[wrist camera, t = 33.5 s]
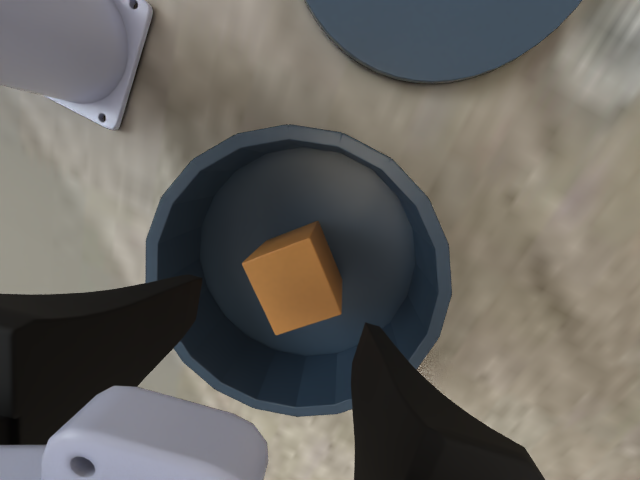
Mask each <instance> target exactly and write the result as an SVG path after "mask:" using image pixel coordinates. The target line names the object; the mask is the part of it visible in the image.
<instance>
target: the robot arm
mask: <svg viewBox="0 0 640 480" xmlns="http://www.w3.org/2000/svg"><path fill="white" fill-rule="evenodd" d="M135 3H138V7H137V8H136V9H134V5H135ZM152 16H153V9H152V7H151V5H150V4H149V3H148V2H146V1H145V0H0V85H2V86H6V87H10V88H15V89H19V90H23V91H27V92H31V93H35V94H40V95H43V96H45V97H47V98H49V99H51V100H52V101H54V102H56V103H58V104H60V105H62V106H64V107H66V108H68V109H70V110H72V111H74V112H76V113H78V114H80V115H82V116H84V117H86V118H88V119H90V120H91V121H93V122H95V123H97V124H99V125H101V126H103V127H105V128H107V129H110V130H117V129H118V128H119V127H120V124H121V121H122V118H123V114H124V111H125V107H126V104H127V101H128V97H129V94H130V90H131V87H132V84H133V80H134V77H135V73H136V70H137V67H138V63H139V60H140V56H141V53H142V50H143V46H144V43H145V40H146V36H147V33H148V29H149V26H150V23H151V19H152ZM104 115H105V117H106V120H105V122H104V120H103V116H104ZM202 279H203V278H201V277H197V276H193V275H190V274H188V275H180V276H175V277H171V278H166V279H162V280H158V281H153V282H149V283H144V284H139V285H134V286H129V287H124V288H118V289H112V290H105V291H96V292H86V293H70V294H51V295H21V294H0V480H264V476H265V472H266V468H267V464H268V449H267V442H266V440H265V439H264V438H263V436H262V435H261V434H260V432H259V431H258V429H257V428H256V427H255V425H254V424H252V423H251V422H249V421H247V420H245V419H243V418H241V417H239V416H237V415H235V414H233V413H229V412H226V411H222V410H219V409H215V408H211V407H208V406H204V405H201V404H197V403H194V402H190V401H187V400H183V399H179V398H176V397H172V396H169V395H165V394H162V393H158V392H154V391H151V390H147V389H144V388H140V387H137V386H138V385H139V384H140V383H141V382H142V380H143V379H144V378H145V377H146V376H147V375H148V374H149V373H150V372H151V371H152V370H153V369H154V368H155V367H156V366H157V365H158V364H159V363H160V362H161V361H162V359H163V358H164V357H165V356H166V355H167V354H168V353H169V352H170V351H171V350H172V349H173V348H174V347H175V346H176V345H177V344H178V343H179V342H180V341H181V339H182V338H183V337H184V336H185V334H186V333H187V332H188V330H189V329H190V328H191V326H192V325H193V323H194V322H195V320H196V316H197V310H198V304H199V298H200V292H201V286H202ZM351 396H352V409H353V422H354V435H355V471H354V480H545V479H544V477H543V476H542V474H541V472H540V471H539V469H538V468H537V466H536V465H535V463H534V461H533V460H532V458H531V457H530V455H529V454H528V452H527V451H526V449H525V448H524V447H523V446H521V445H519V444H517V443H516V442H514V441H512V440H510V439H509V438H507V437H505V436H503V435H502V434H500V433H498V432H496V431H495V430H493V429H491V428H490V427H488V426H486V425H485V424H483V423H482V422H480V421H479V420H477V419H476V418H474V417H473V416H471V415H470V414H468V413H467V412H466V411H464V410H463V409H461V408H460V407H459V406H457V405H456V404H455V403H453V402H452V401H451V400H450V399H448V398H447V397H446V396H444V395H443V394H442V393H441V392H440V391H438V390H437V389H436V388H435V387H434V386H433V385H432V384H431V383H430V382H428V381H427V380H426V379H425V378H424V377H423V376H422V375H421V374H420V373H419V372H418V371H417V370H416V369H415V368H414V367H413V366H412V365H411V363H410V362H409V361H408V360H407V359H406V358H405V357H404V356H403V354H402V353H401V352H400V351H399V350H398V348H397V347H396V346H395V345H394V343H393V342H392V341H391V340H390V338H389V337H388V336H387V335H386V333H385V332H384V331H383V330H382V329H381V327H380V326H377V325H373V324H369V323H366V322H365V325H364V328H363V331H362V334H361V337H360V340H359V343H358V346H357V349H356V352H355V355H354V358H353V361H352V370H351Z"/></svg>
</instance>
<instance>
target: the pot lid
mask: <svg viewBox="0 0 640 480" xmlns="http://www.w3.org/2000/svg"><path fill="white" fill-rule="evenodd" d="M581 1H582V0H305V3H306V4H307V6H308V8H309V9H310V11H311V13H312V14H313V16H314V18H315V20H316V21H317V22H318V24H319V25H320V26H321V28H322V29H323V30H324V31H325V33H326V34H327V35H328V37H329V38H330V39H331V40H332V41H333V42H334V43H335V44H336V45H337V46H338V47H339V48H340V49H341V50H342V51H344V52H345V53H346V54H348V55H349V56H350V57H352V58H353V59H354V60H356V61H357V62H358V63H360V64H362V65H364V66H366V67H367V68H369V69H371V70H373V71H375V72H377V73H380V74H383V75H385V76H388V77H391V78H394V79H398V80H403V81H408V82H413V83H430V84H435V83H447V82H455V81H460V80H464V79H469V78H473V77H476V76H479V75H482V74H484V73H487V72H490V71H493V70H495V69H497V68H499V67H501V66H503V65H505V64H507V63H509V62H511V61H513V60H515V59H516V58H518V57H519V56H521V55H522V54H524V53H525V52H527V51H528V50H530V49H531V48H533V47H534V46H536V45H537V44H539V43H540V42H541V41H542V40H543V39H545V38H546V37H547V36H548V35H549V34H551V33H552V32H553V31H554V30H555V29H557V28H558V27H559V25H560V24H561V23H562V22H563V21H564V20H565V19H566V18H567V17H568V16H569V15H570V14H571V13H572V12H573V11H574V10H575V9H576V8H577V6H578V5H579V4H580V2H581Z"/></svg>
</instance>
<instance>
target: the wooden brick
mask: <svg viewBox="0 0 640 480" xmlns="http://www.w3.org/2000/svg"><path fill="white" fill-rule="evenodd" d="M242 266H243V268H244V270H245V272H246V274H247V276H248V278H249V280H250V282H251V285H252V287H253V289H254V291H255V293H256V295H257V297H258V299H259V301H260V303H261V306H262V308H263V310H264V312H265V314H266V316H267V318H268V320H269V322H270V325H271V327H272V329H273V331H274V333H275V335H279V334H282V333H285V332H289V331H292V330H295V329H298V328H301V327H304V326H307V325H310V324H313V323H316V322H319V321H323V320H326V319H329V318H332V317H335V316H338V315H341V314H342V278H341V275H340V273H339V270H338V268H337V265H336V263H335V260H334V258H333V255H332V253H331V251H330V248H329V246H328V243H327V241H326V238H325V236H324V233H323V231H322V228H321V226H320V223H319V221H316V222H313V223H310V224H308V225H305V226H303V227H300V228H297V229H295V230H292V231H290V232H287V233H284V234H282V235H279V236H277V237H274V238H271V239H269V240H266V241H265V242H264V243H263V244H262V245H261V246H260V247H259V248H258V249H256V250H255V251H254V252H253V253H252V254H251V255H250V256H249V257H248V258H247V259H246V260H245V261H243V262H242Z"/></svg>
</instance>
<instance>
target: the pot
mask: <svg viewBox="0 0 640 480" xmlns="http://www.w3.org/2000/svg"><path fill="white" fill-rule="evenodd" d="M316 221H319V223H320V226H321V228H322V231H323V233H324V236H325V238H326V241H327V243H328V246H329V248H330V251H331V253H332V255H333V258H334V260H335V263H336V265H337V268H338V270H339V273H340V275H341V278H342V314H341V315H338V316H335V317H332V318H329V319H326V320H323V321H319V322H316V323H313V324H310V325H307V326H304V327H301V328H298V329H295V330H292V331H289V332H285V333H282V334H279V335H275V333H274V331H273V329H272V327H271V325H270V322H269V320H268V318H267V316H266V314H265V312H264V310H263V308H262V306H261V303H260V301H259V299H258V297H257V295H256V293H255V291H254V289H253V287H252V285H251V282H250V280H249V278H248V276H247V274H246V272H245V270H244V268H243V266H242V262H243V261H245V260H246V259H247V258H248V257H249V256H250V255H251V254H252V253H253V252H254V251H255V250H256V249H258V248H259V247H260V246H261V245H262V244H263V243H264V242H265V241H266V240H269V239H271V238H274V237H277V236H279V235H282V234H284V233H287V232H290V231H292V230H295V229H297V228H300V227H303V226H305V225H308V224H310V223H313V222H316ZM188 274H190V275H193V276H197V277H201V278H203V279H202V286H201V292H200V298H199V304H198V310H197V316H196V320H195V322H194V323H193V325H192V326H191V328H190V329H189V330H188V332H187V333H186V334H185V336H184V337H183V338H182V339H181V341H180V342H179V343H178V344H177V345H176V346H175V347H174V349H175V351H176V352H177V354H178V355H179V357H180V358H181V360H182V361H183V362H184V363H185V364H186V365H187V366H188V367H189V368H191V369H192V370H193V371H194V372H195V373H196V374H198V375H199V376H200V377H201V378H202V379H203V380H205V381H206V382H207V383H208V384H209V385H210V386H212V387H213V388H214V389H216V390H217V391H219V392H221V393H223V394H225V395H227V396H229V397H231V398H233V399H236V400H238V401H240V402H242V403H244V404H246V405H248V406H250V407H252V408H255V409H260V410H265V411H270V412H275V413H280V414H285V415H290V416H296V417H300V416H315V415H330V414H338V413H342V412H345V411H348V410H351V409H352V396H351V370H352V361H353V358H354V355H355V352H356V349H357V346H358V343H359V340H360V337H361V334H362V331H363V328H364V325H365V322H366V323H369V324H373V325H377V326H380V327H381V329H382V330H383V331H384V332H385V333H386V335H387V336H388V337H389V338H390V340H391V341H392V342H393V343H394V345H395V346H396V347H397V348H398V350H399V351H400V352H401V353H402V354H403V356H404V357H405V358H406V359H407V360H408V361H409V362H410V363H411V365H412V366H413V367H414V368H415V369H417V368H418V367H419V365H420V364H421V362H422V361H423V360H424V358H425V357H426V355H427V354H428V353H429V351H430V350H431V348H432V347H433V346H434V344H435V343H436V341H437V340H438V338H439V337H440V333H441V330H442V326H443V323H444V320H445V316H446V313H447V309H448V306H449V302H450V299H451V295H452V286H451V270H450V254H449V244H448V242H447V239H446V237H445V235H444V232H443V230H442V228H441V225H440V223H439V221H438V219H437V216H436V214H435V212H434V209H433V207H432V205H431V202H430V200H429V198H428V197H427V196H426V195H425V194H424V193H423V191H422V190H421V189H420V188H419V187H418V186H417V185H416V184H415V183H414V182H413V181H412V180H411V179H410V178H409V176H408V175H407V174H406V173H405V172H404V171H403V170H402V169H401V168H400V167H399V166H398V165H397V164H396V162H395V161H394V160H393V159H391V158H390V157H388V156H386V155H384V154H382V153H380V152H378V151H377V150H375V149H373V148H371V147H369V146H367V145H365V144H363V143H362V142H360V141H358V140H356V139H354V138H352V137H350V136H348V135H346V134H345V133H343V134H342V133H341V132H336V131H330V130H323V129H317V128H310V127H304V126H297V125H291V124H290V125H287V124H286V125H280V126H275V127H270V128H264V129H259V130H254V131H248V132H243V133H237V134H236V135H233V136H231V137H230V138H228V139H226V140H225V141H223V142H221V143H219V144H218V145H216V146H214V147H213V148H211V149H209V150H207V151H206V152H204V153H202V154H201V155H199V156H197V157H196V158H194V159H193V160H192V161H190V163H189V164H188V165H187V166H186V168H185V169H184V170H183V171H182V172H181V174H180V175H179V176H178V177H177V179H176V180H175V181H174V182H173V183H172V185H171V186H170V187H169V188H168V189H167V191H166V192H165V193H164V194H163V196H162V197H161V199H160V202H159V205H158V207H157V210H156V213H155V216H154V219H153V221H152V224H151V227H150V230H149V233H148V236H147V238H146V283H149V282H153V281H158V280H162V279H166V278H171V277H175V276H180V275H188Z"/></svg>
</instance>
